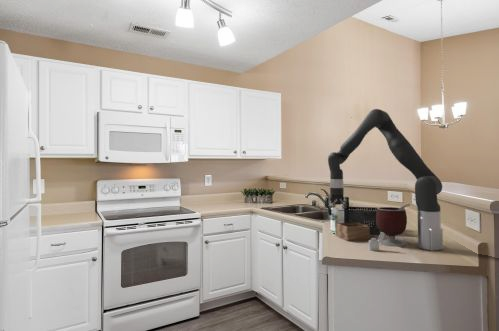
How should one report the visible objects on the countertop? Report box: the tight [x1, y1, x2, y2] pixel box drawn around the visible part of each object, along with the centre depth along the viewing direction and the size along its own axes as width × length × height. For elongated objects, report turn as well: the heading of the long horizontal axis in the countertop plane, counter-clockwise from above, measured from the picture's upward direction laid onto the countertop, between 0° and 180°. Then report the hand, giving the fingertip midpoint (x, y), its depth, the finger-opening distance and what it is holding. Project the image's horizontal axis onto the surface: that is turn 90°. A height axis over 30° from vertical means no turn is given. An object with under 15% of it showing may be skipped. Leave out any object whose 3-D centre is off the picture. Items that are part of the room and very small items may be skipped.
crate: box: [335, 222, 371, 242], centre depth 166 cm, size 13×13×7 cm
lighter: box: [368, 232, 386, 251], centre depth 141 cm, size 7×2×8 cm, turn 92°
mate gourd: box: [376, 203, 411, 247], centre depth 153 cm, size 16×14×20 cm
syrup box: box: [330, 207, 344, 235], centre depth 179 cm, size 6×6×14 cm
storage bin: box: [341, 205, 381, 235], centre depth 186 cm, size 29×19×13 cm
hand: (337, 215), depth 179 cm, fingers open, 8 cm apart
